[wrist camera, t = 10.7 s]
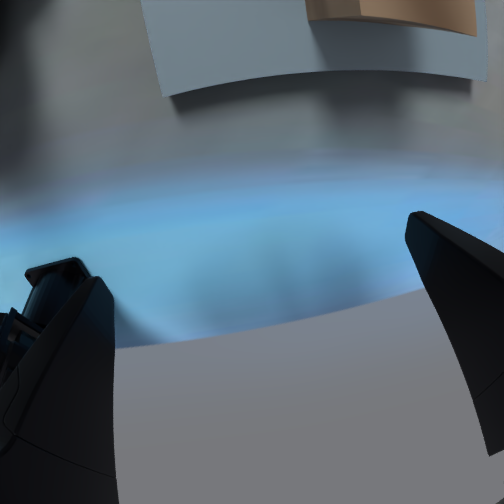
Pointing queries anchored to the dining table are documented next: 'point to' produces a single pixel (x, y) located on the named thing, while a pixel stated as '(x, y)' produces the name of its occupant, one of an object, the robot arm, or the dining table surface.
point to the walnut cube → (399, 13)
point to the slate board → (294, 43)
